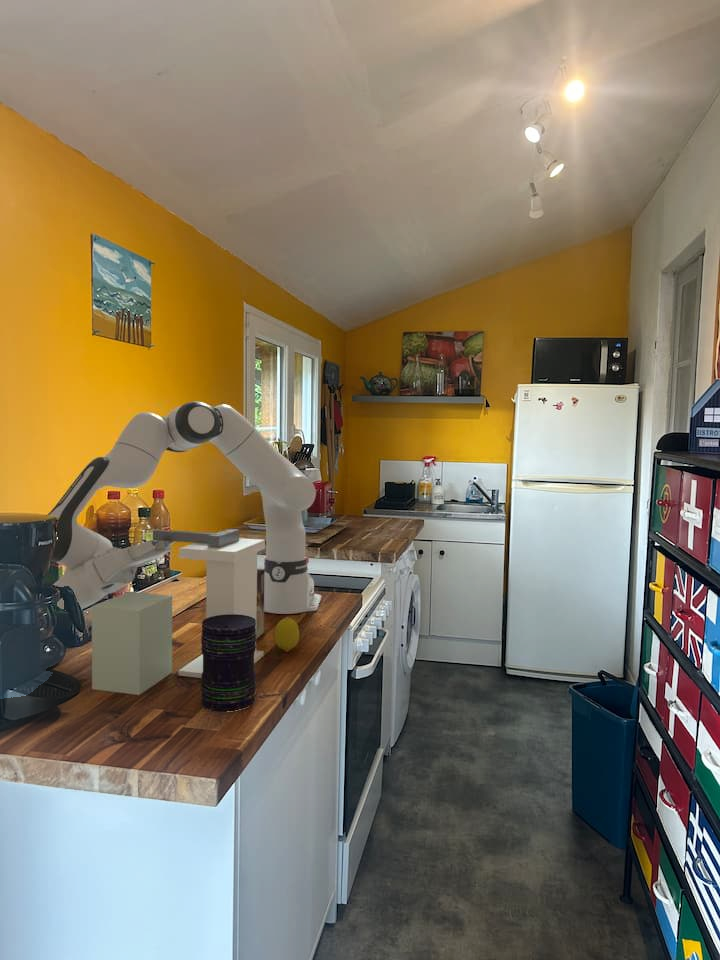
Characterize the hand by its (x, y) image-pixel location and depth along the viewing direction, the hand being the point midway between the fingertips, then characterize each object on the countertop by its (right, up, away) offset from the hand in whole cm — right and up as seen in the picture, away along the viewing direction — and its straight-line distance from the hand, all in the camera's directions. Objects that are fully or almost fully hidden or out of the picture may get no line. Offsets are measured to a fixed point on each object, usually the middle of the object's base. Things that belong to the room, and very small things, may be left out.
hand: (164, 539), depth 139 cm
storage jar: (+18, -28, -20) cm, 39 cm away
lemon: (+25, -26, +8) cm, 37 cm away
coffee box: (+14, -26, +18) cm, 34 cm away
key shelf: (+13, -27, -1) cm, 29 cm away
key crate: (-3, -27, -11) cm, 29 cm away
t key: (+6, 0, -1) cm, 6 cm away
